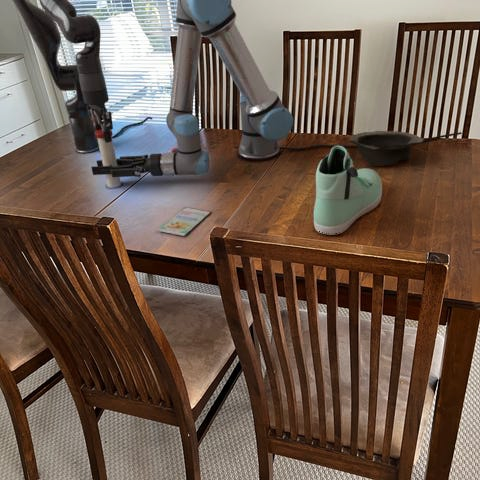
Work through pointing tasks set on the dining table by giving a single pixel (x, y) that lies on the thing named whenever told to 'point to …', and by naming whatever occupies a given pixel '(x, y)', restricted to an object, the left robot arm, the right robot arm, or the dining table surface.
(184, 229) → the baking ingredient package
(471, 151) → the dining table surface
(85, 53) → the left robot arm
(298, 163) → the dining table surface
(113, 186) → the jar
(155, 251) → the dining table surface
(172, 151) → the candy cane
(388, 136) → the stone bowl
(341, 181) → the sneaker
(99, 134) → the lid
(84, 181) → the dining table surface
